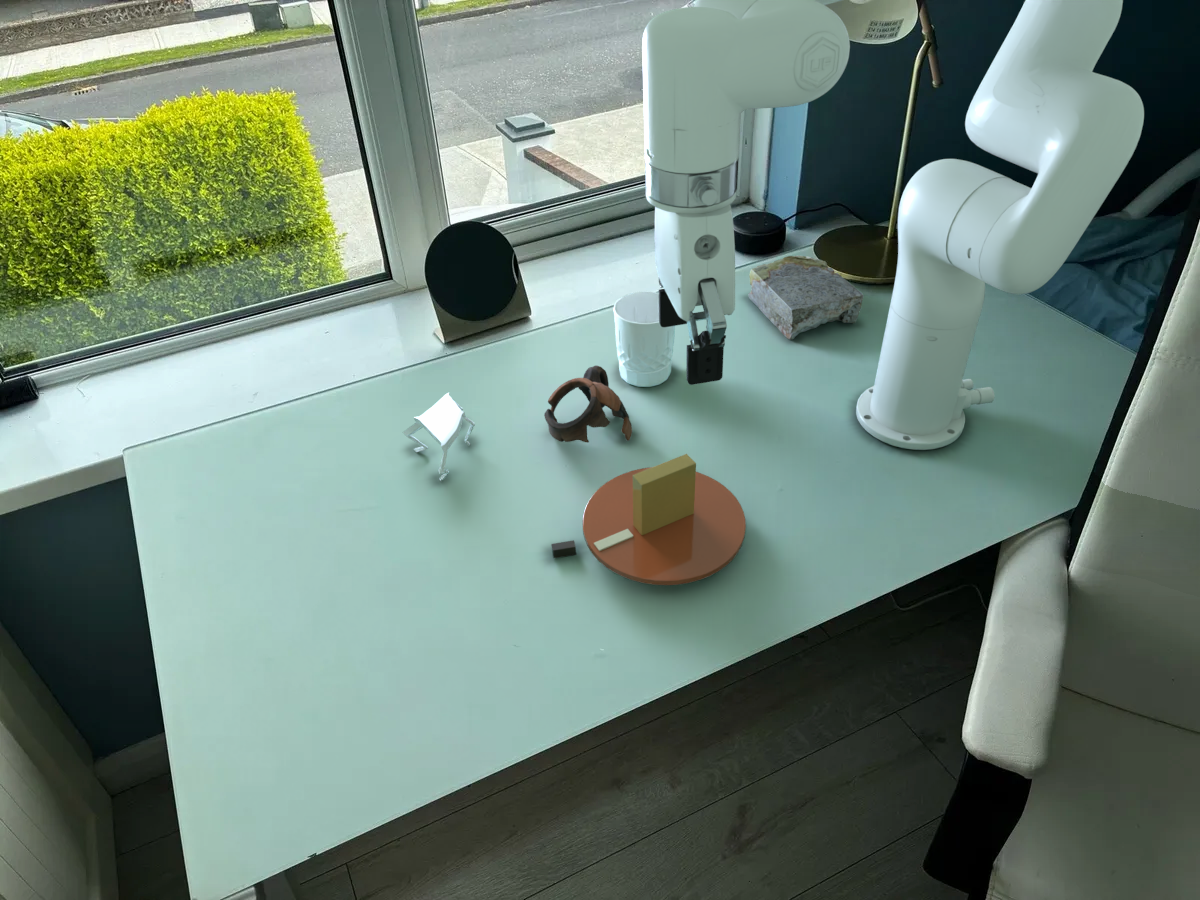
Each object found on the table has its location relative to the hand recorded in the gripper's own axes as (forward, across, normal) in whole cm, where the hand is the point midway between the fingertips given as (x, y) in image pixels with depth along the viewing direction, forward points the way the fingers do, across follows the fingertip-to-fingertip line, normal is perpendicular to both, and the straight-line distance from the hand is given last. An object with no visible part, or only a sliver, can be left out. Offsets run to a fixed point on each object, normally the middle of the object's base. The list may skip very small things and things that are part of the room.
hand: (689, 351), depth 84 cm
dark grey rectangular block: (+21, -3, +7) cm, 22 cm away
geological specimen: (+22, +37, -27) cm, 51 cm away
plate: (+19, -3, +3) cm, 20 cm away
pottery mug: (+21, +17, +7) cm, 28 cm away
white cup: (+22, +27, -2) cm, 35 cm away
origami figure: (+21, +16, +25) cm, 37 cm away
